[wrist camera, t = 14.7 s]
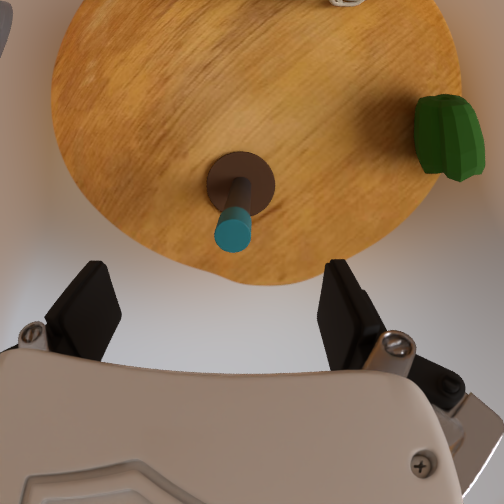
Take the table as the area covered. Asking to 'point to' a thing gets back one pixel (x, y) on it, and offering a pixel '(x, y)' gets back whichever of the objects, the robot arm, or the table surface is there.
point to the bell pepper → (448, 137)
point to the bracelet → (338, 1)
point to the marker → (235, 218)
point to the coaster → (241, 167)
